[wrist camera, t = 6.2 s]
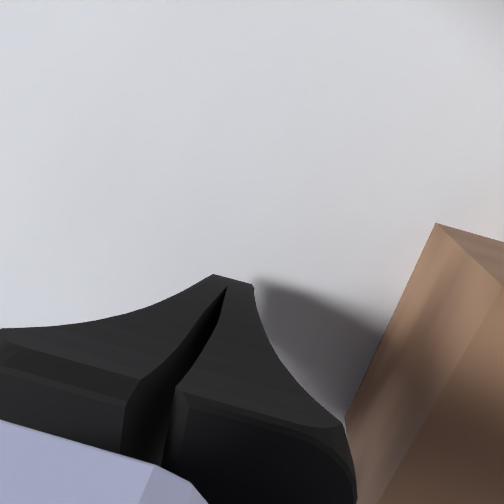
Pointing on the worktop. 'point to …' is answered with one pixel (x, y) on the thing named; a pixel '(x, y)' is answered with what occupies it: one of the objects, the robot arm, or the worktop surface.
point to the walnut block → (437, 383)
